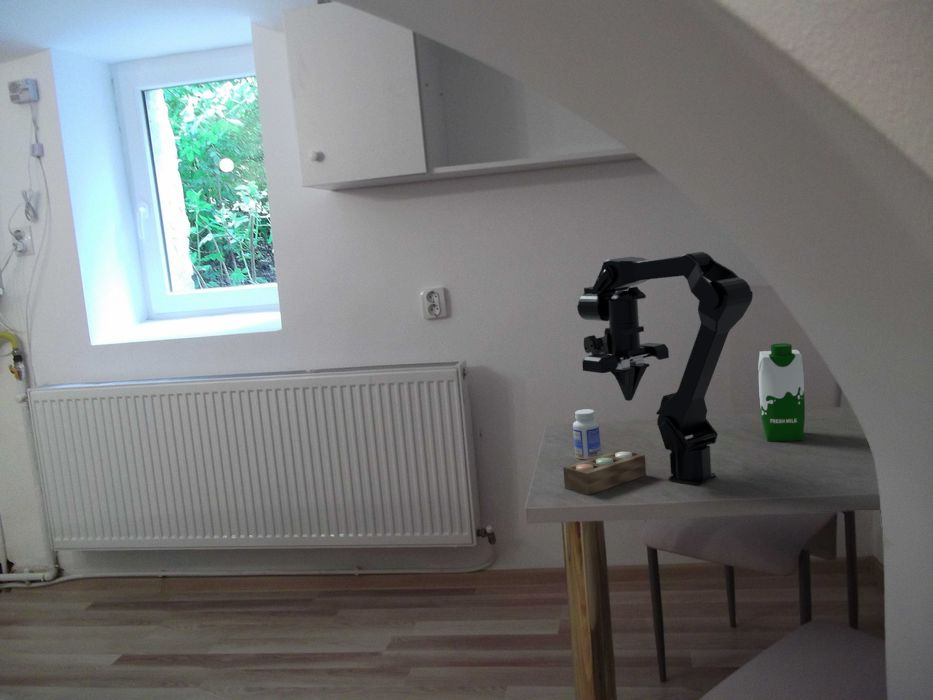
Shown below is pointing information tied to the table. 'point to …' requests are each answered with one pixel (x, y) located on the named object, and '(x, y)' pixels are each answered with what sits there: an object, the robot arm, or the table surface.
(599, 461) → the sage egg
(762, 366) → the milk carton
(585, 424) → the pill bottle
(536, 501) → the table surface
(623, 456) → the white rounded piece
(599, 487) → the wooden egg tray
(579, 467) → the peach oval piece
